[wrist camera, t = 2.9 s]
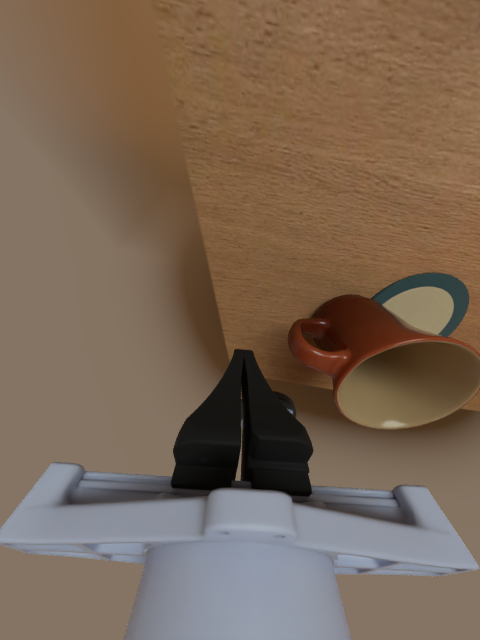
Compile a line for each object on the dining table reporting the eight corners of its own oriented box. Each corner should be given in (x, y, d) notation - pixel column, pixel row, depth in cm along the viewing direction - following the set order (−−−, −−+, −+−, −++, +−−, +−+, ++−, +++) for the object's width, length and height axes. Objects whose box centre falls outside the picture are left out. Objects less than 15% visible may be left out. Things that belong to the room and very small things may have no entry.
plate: (401, 369, 25) (403, 371, 25) (332, 342, 23) (333, 344, 23) (492, 298, 19) (495, 299, 19) (410, 253, 17) (413, 253, 17)
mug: (400, 297, 19) (529, 361, 10) (354, 356, 23) (415, 440, 14) (295, 265, 18) (331, 304, 9) (267, 332, 23) (274, 404, 14)
